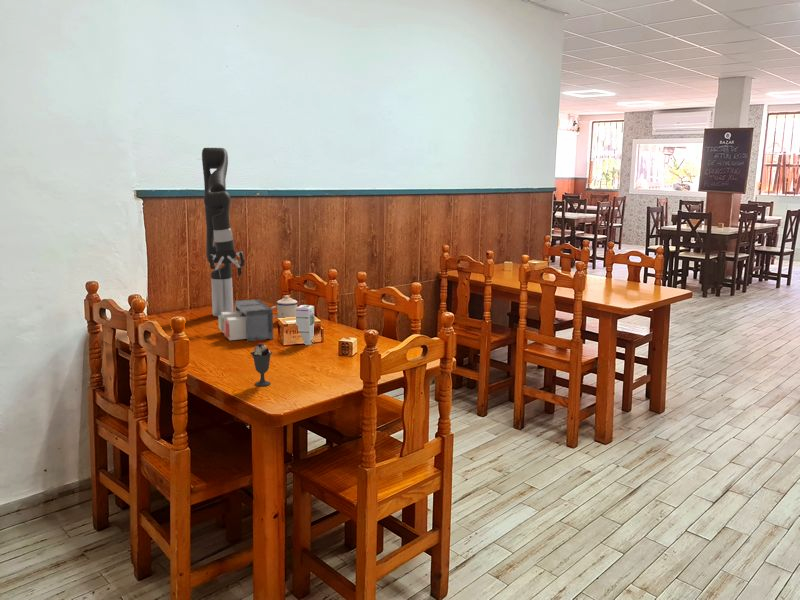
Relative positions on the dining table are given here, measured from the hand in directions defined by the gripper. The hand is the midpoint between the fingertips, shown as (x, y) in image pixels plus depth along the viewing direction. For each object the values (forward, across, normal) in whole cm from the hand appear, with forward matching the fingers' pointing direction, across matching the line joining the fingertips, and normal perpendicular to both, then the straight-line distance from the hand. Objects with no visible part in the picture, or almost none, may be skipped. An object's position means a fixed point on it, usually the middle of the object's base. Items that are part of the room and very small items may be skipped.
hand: (229, 276), depth 276 cm
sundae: (+17, -21, +84) cm, 88 cm away
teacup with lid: (+23, -20, -1) cm, 31 cm away
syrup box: (+22, -31, +35) cm, 52 cm away
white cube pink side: (+19, -5, +27) cm, 34 cm away
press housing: (+20, -10, +20) cm, 30 cm away
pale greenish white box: (+20, -1, +17) cm, 26 cm away
